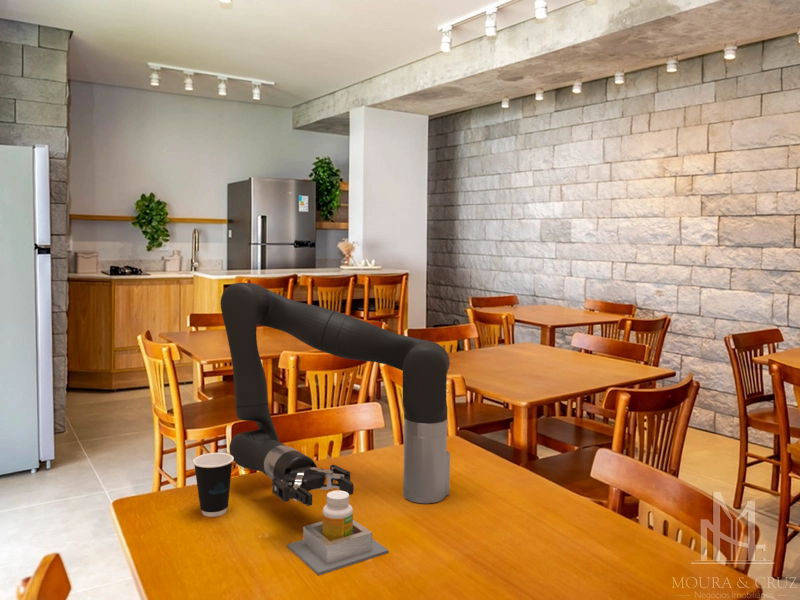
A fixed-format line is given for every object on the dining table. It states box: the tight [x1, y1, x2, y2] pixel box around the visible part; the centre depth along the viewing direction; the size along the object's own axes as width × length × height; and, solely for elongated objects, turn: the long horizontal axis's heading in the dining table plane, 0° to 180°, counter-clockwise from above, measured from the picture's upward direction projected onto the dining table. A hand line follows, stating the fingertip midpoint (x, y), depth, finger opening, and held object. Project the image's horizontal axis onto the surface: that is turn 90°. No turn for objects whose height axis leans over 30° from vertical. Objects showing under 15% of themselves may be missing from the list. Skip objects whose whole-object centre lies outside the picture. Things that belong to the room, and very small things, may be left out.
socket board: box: [286, 519, 390, 576], centre depth 118 cm, size 14×12×4 cm
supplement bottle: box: [322, 490, 354, 541], centre depth 118 cm, size 5×5×10 cm
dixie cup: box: [192, 452, 234, 518], centre depth 133 cm, size 8×8×11 cm
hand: (331, 495), depth 119 cm, fingers open, 8 cm apart
